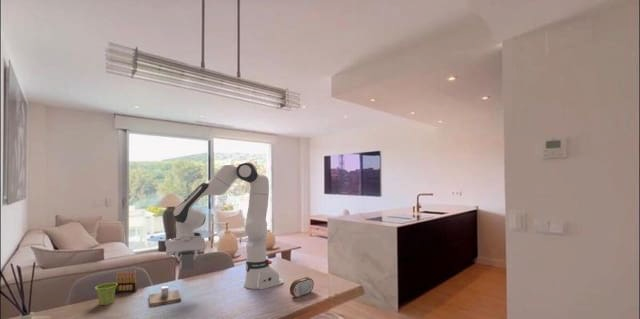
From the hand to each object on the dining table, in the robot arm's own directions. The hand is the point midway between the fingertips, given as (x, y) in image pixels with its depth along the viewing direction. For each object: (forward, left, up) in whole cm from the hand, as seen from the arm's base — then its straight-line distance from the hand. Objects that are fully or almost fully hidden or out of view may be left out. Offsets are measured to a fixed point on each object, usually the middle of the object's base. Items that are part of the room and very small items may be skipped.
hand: (187, 259), depth 174 cm
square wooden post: (+11, 0, -17) cm, 20 cm away
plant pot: (+37, -10, -19) cm, 42 cm away
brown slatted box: (+29, -24, -19) cm, 42 cm away
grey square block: (0, -1, -4) cm, 4 cm away
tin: (-53, +30, -19) cm, 64 cm away
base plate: (+11, 0, -19) cm, 22 cm away
